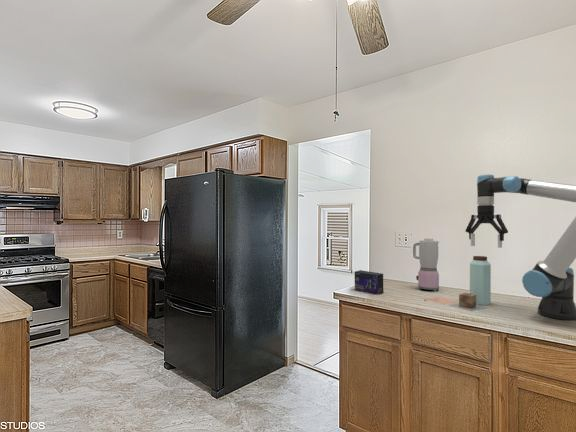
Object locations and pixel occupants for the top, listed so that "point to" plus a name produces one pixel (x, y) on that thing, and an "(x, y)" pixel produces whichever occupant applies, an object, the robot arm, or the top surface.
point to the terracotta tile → (441, 300)
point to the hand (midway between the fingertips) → (485, 246)
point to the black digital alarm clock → (369, 282)
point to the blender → (427, 264)
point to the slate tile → (468, 308)
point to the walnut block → (467, 300)
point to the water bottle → (480, 280)
